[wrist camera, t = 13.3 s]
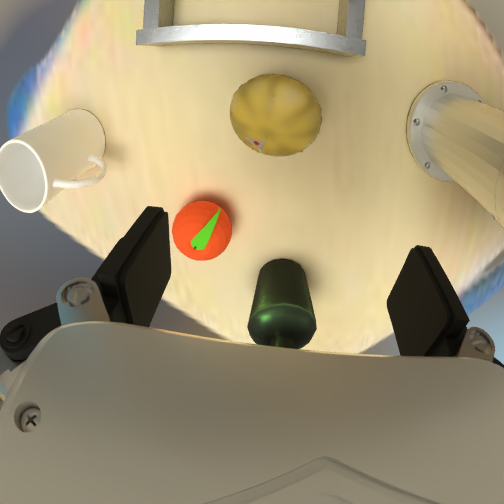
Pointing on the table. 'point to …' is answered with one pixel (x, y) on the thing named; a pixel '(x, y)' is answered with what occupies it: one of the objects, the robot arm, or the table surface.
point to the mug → (51, 159)
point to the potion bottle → (282, 307)
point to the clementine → (201, 230)
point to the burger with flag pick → (275, 115)
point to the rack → (254, 31)
